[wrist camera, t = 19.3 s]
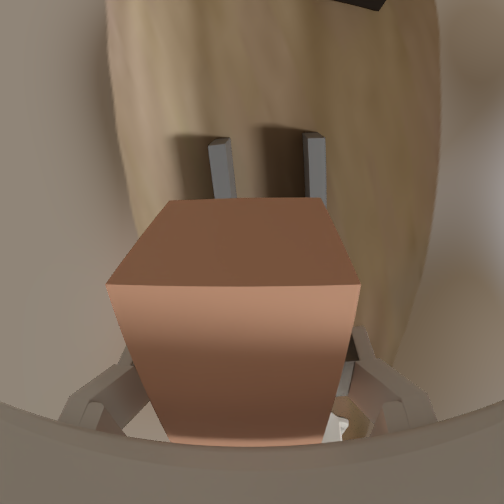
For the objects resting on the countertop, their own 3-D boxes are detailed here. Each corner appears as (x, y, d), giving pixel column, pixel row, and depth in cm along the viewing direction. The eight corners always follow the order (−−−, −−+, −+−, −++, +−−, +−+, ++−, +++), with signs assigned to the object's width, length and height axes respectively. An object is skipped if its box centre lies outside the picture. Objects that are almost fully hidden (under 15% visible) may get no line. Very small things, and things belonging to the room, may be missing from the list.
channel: (319, 273, 36) (324, 293, 33) (233, 278, 37) (229, 299, 33) (317, 132, 29) (325, 137, 25) (214, 139, 29) (207, 145, 26)
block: (305, 366, 14) (314, 462, 9) (198, 365, 14) (179, 458, 10) (320, 197, 10) (361, 284, 6) (169, 200, 10) (105, 284, 6)
